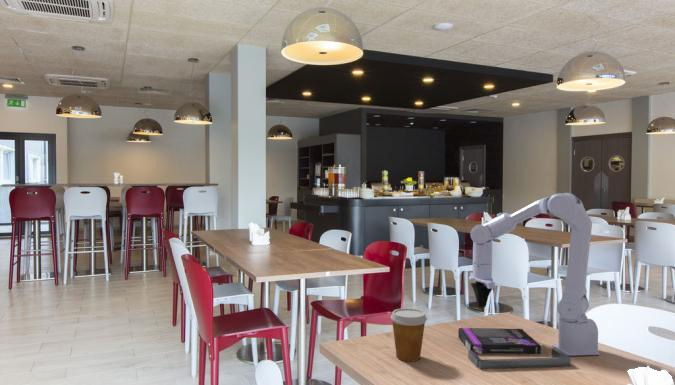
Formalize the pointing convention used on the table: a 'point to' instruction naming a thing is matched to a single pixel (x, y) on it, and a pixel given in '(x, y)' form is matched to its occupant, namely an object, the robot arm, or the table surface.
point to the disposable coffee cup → (408, 333)
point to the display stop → (522, 361)
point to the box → (498, 341)
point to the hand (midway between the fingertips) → (481, 306)
